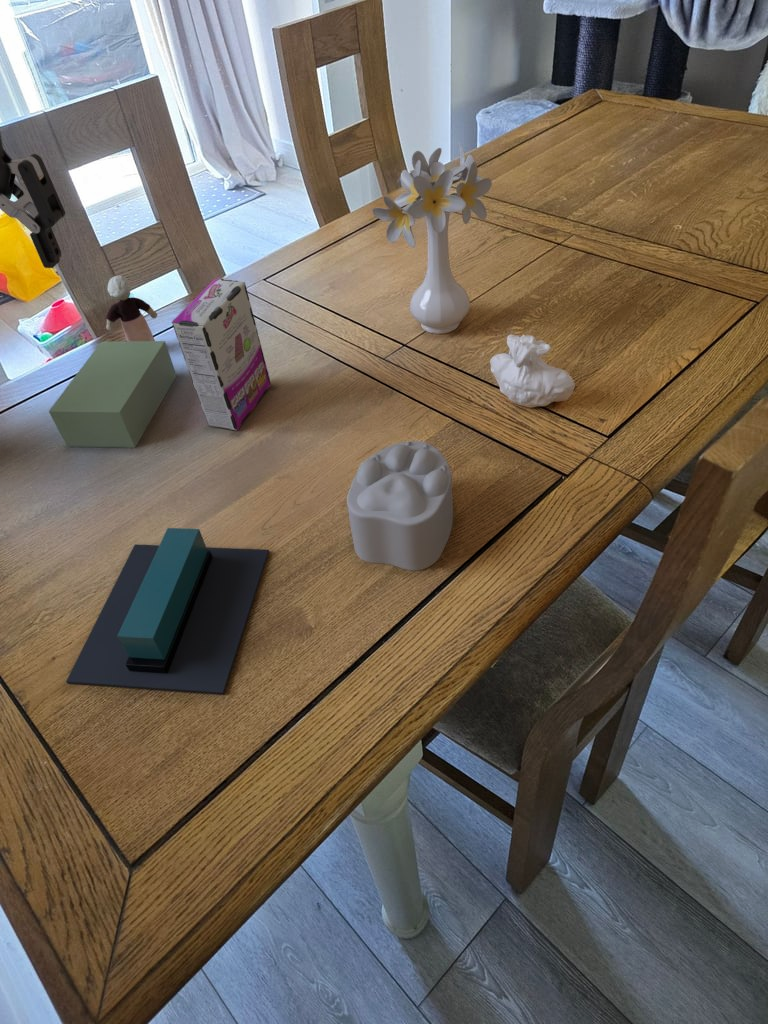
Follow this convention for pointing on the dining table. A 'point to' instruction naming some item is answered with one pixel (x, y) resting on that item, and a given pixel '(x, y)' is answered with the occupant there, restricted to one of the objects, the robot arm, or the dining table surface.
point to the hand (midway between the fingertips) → (15, 264)
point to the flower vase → (436, 232)
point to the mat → (205, 636)
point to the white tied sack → (530, 374)
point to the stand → (114, 394)
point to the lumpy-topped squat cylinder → (402, 506)
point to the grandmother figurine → (128, 311)
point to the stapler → (165, 601)
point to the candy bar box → (223, 353)
